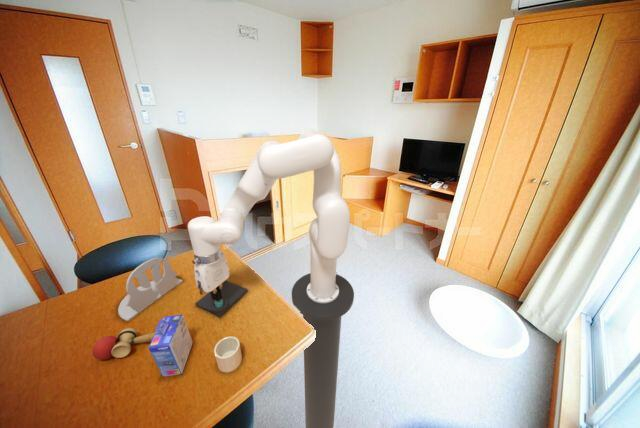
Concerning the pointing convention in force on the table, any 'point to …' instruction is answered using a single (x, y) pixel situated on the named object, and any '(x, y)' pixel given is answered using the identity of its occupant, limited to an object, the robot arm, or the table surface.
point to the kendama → (119, 344)
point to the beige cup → (228, 354)
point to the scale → (229, 296)
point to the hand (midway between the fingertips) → (217, 298)
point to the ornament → (147, 287)
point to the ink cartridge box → (171, 345)
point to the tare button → (219, 303)
